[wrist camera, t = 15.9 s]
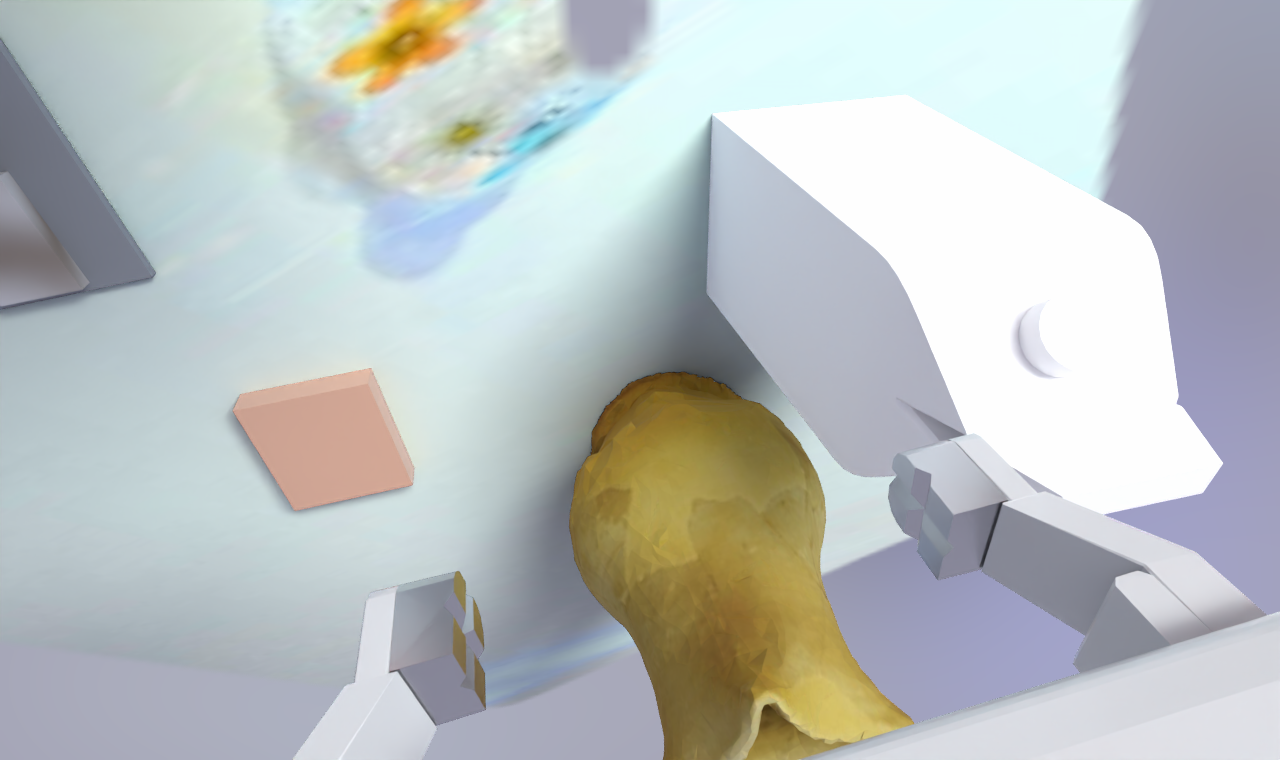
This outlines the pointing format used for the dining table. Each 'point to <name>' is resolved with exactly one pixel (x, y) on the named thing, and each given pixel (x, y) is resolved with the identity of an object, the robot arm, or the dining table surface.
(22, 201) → the brown block
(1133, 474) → the milk
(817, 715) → the pitcher
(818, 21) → the dining table surface
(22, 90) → the pad
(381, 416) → the tile
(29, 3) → the dining table surface
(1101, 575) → the robot arm
